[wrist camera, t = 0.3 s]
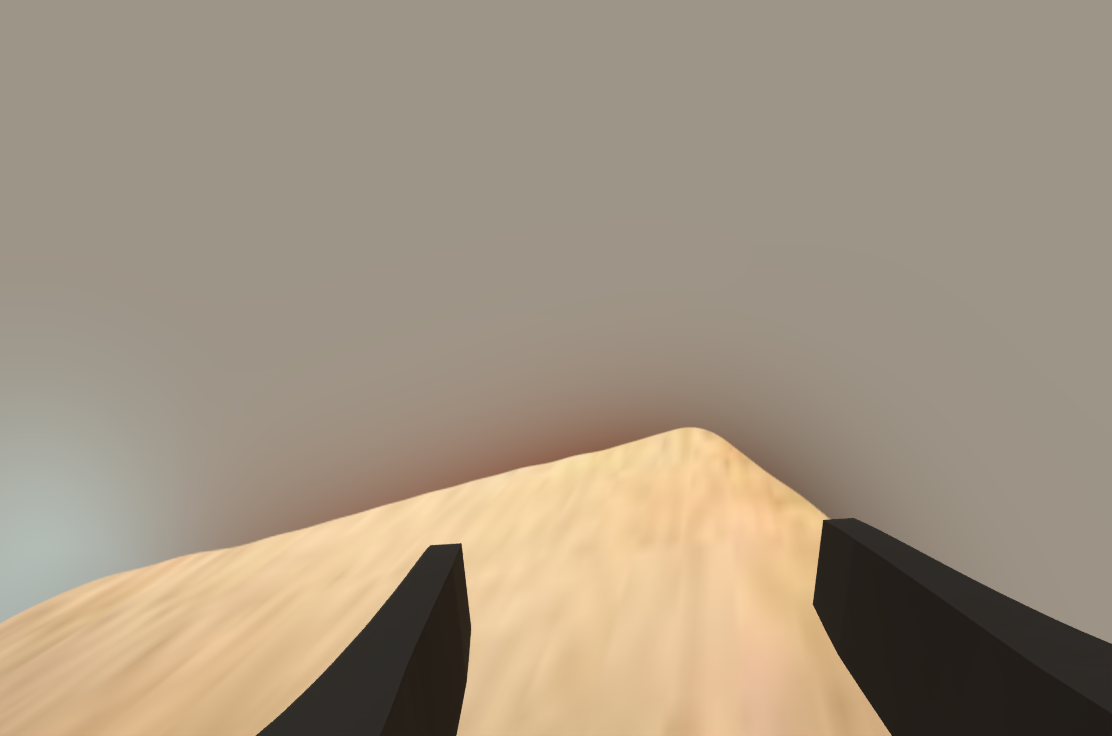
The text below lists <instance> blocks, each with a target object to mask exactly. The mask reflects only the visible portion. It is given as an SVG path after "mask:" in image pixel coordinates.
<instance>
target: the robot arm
mask: <svg viewBox="0 0 1112 736" xmlns="http://www.w3.org/2000/svg"><path fill="white" fill-rule="evenodd" d="M813 606H814V608H815V610H816V612H817V614H818V616H819V618H820V620H821V622H822V624H823V626H824V628H825V630H826V632H827V634H828V636H829V638H830V640H831V642H832V644H833V646H834V648H835V649H836V651H837V653H838V655H839V657H840V658H841V660H842V661H843V663H844V664H845V666H846V668H847V669H848V671H849V672H850V674H851V675H852V677H853V678H854V680H855V681H856V683H857V684H858V686H859V687H860V689H861V690H862V692H863V693H864V695H865V696H866V698H867V699H868V701H869V702H870V704H871V705H872V707H873V708H874V710H875V711H876V713H877V714H878V716H879V717H880V719H881V720H882V722H883V723H884V725H885V726H886V728H887V729H888V731H889V732H890V734H891V735H892V736H1112V644H1111V643H1108V642H1106V641H1103V640H1101V639H1099V638H1096V637H1094V636H1091V635H1089V634H1087V633H1084V632H1082V631H1080V630H1077V629H1075V628H1073V627H1071V626H1068V625H1066V624H1064V623H1062V622H1059V621H1057V620H1055V619H1053V618H1051V617H1049V616H1046V615H1044V614H1042V613H1040V612H1038V611H1036V610H1034V609H1032V608H1030V607H1028V606H1025V605H1023V604H1022V603H1019V602H1017V601H1015V600H1013V599H1011V598H1009V597H1007V596H1005V595H1003V594H1001V593H999V592H997V591H995V590H993V589H991V588H989V587H987V586H985V585H983V584H981V583H979V582H977V581H975V580H973V579H971V578H969V577H967V576H965V575H963V574H962V573H960V572H958V571H956V570H954V569H952V568H950V567H948V566H946V565H944V564H942V563H941V562H939V561H937V560H935V559H933V558H931V557H929V556H927V555H926V554H924V553H922V552H920V551H918V550H916V549H914V548H913V547H911V546H909V545H907V544H905V543H903V542H901V541H899V540H897V539H895V538H893V537H892V536H890V535H888V534H886V533H884V532H882V531H880V530H878V529H876V528H874V527H872V526H870V525H868V524H866V523H863V522H861V521H859V520H857V519H854V518H848V519H831V520H823V527H822V535H821V543H820V551H819V559H818V567H817V575H816V583H815V591H814V600H813ZM470 637H471V622H470V613H469V605H468V596H467V587H466V579H465V570H464V561H463V553H462V544H461V543H460V544H445V545H430V546H429V547H428V548H427V549H426V551H425V552H424V553H423V554H422V556H421V557H420V558H419V560H418V561H417V562H416V564H415V565H414V566H413V568H412V569H411V570H410V572H409V573H408V574H407V576H406V577H405V578H404V580H403V581H402V582H401V583H400V585H399V586H398V587H397V589H396V590H395V591H394V592H393V594H392V595H391V596H390V597H389V599H388V600H387V601H386V602H385V604H384V605H383V606H382V607H381V608H380V610H379V611H378V612H377V613H376V615H375V616H374V617H373V618H372V619H371V621H370V622H369V623H368V624H367V625H366V627H365V628H364V629H363V630H362V631H361V632H360V633H359V634H358V636H357V637H356V638H355V639H354V640H353V641H352V642H351V643H350V644H349V646H348V647H347V648H346V649H345V650H344V651H343V652H342V653H341V654H340V655H339V657H338V658H337V659H336V660H335V661H334V662H333V663H332V664H331V665H330V666H329V667H328V668H327V669H326V671H325V672H324V673H323V674H322V675H321V676H320V677H319V678H318V679H317V680H316V681H315V682H314V683H313V684H312V685H311V686H310V687H309V688H308V689H307V690H306V691H305V692H304V693H303V694H302V695H300V696H299V697H298V698H297V699H296V700H295V701H294V702H293V703H292V704H291V705H290V706H289V707H288V708H287V709H286V710H285V711H284V712H283V713H281V714H280V715H279V716H278V717H277V718H276V719H275V720H274V721H273V722H271V723H270V724H269V725H268V726H267V727H265V728H264V729H263V730H262V731H261V732H259V733H258V734H257V735H256V736H456V735H457V730H458V724H459V719H460V714H461V709H462V704H463V698H464V693H465V688H466V682H467V672H468V661H469V649H470Z"/></svg>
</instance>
